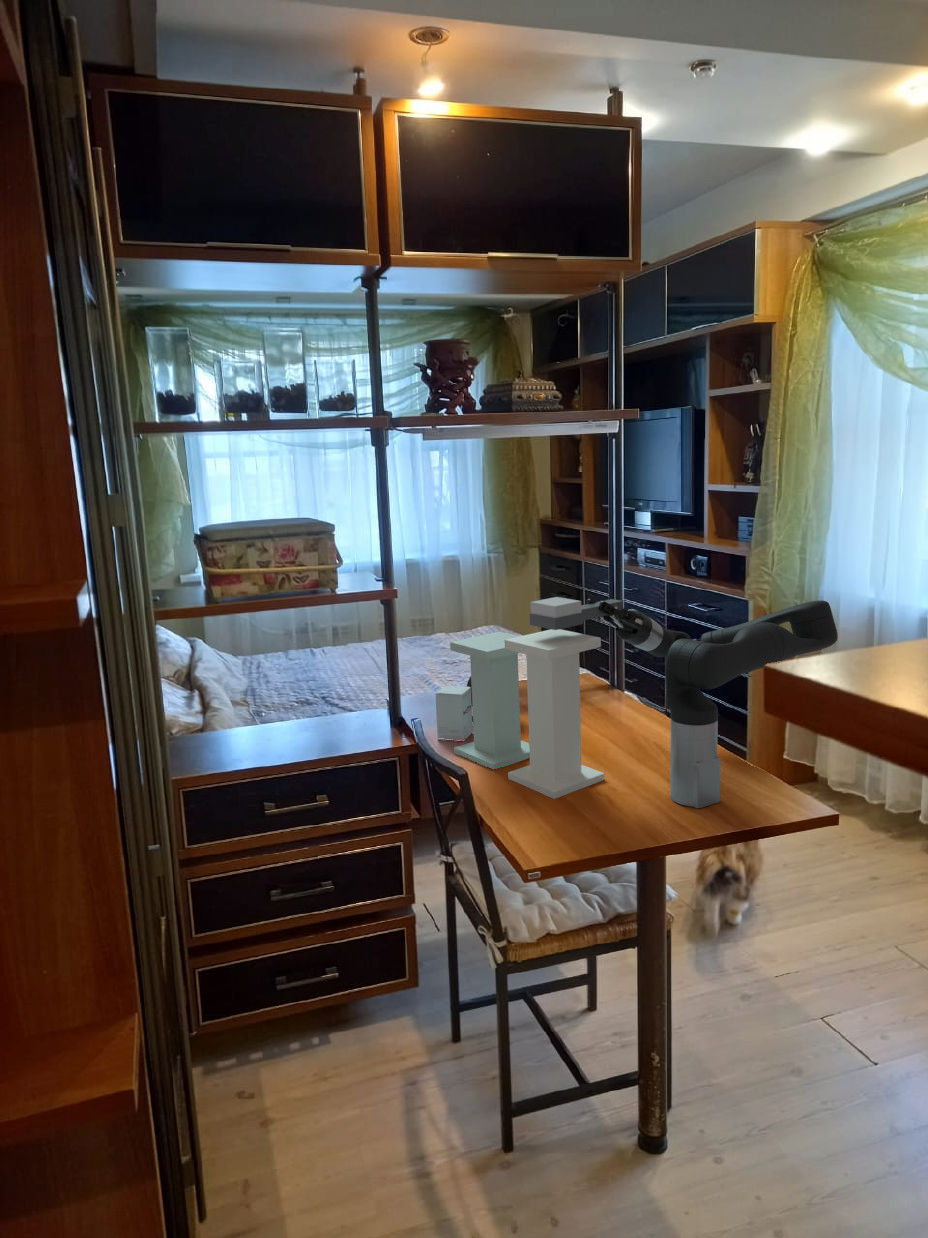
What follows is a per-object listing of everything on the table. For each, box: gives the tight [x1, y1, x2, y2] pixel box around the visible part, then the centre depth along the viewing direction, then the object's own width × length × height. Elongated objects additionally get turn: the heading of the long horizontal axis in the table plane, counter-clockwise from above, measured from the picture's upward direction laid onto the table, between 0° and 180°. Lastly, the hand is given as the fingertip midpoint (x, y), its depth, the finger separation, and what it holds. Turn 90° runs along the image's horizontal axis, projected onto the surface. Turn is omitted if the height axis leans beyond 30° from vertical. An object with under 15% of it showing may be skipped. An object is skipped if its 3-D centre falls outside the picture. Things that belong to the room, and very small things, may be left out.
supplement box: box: [434, 685, 474, 741], centre depth 217 cm, size 7×7×13 cm
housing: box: [529, 596, 624, 630], centre depth 185 cm, size 23×8×5 cm, turn 127°
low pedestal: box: [449, 631, 530, 770], centre depth 202 cm, size 15×15×28 cm
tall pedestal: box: [504, 629, 605, 800], centre depth 184 cm, size 15×15×32 cm
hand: (594, 604), depth 188 cm, fingers closed on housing, 3 cm apart
